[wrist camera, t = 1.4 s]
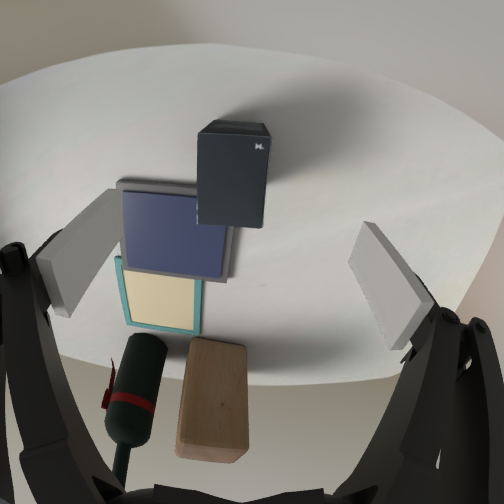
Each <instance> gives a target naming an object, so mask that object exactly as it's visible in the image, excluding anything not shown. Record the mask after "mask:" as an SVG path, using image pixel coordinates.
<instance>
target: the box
mask: <svg viewBox="0 0 504 504" xmlns="http://www.w3.org/2000/svg"><path fill="white" fill-rule="evenodd" d="M271 143H272V137H271V136H270V134H269V132H268V130H267V128H266V127H265V125H264V124H263V123H253V122H239V121H222V120H214V121H212V122H211V123H210V124H209V125H208V126H206V127H205V128H204V129H203V130H201V131H200V132H199V133H198V140H197V224H199V225H215V226H231V227H247V228H258V229H260V228H263V218H264V205H265V194H266V184H267V175H268V166H269V158H270V150H271Z"/></svg>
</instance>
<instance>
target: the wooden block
mask: <svg viewBox="0 0 504 504" xmlns="http://www.w3.org/2000/svg"><path fill="white" fill-rule="evenodd" d="M248 422H249V421H248V382H247V350H246V348H245V347H244V346H241V345H235V344H229V343H223V342H218V341H212V340H207V339H202V338H193V339H192V340H191V342H190V346H189V351H188V357H187V362H186V368H185V374H184V381H183V388H182V396H181V403H180V411H179V419H178V427H177V436H176V445H175V453H176V455H177V456H178V457H180V458H186V459H192V460H200V461H208V462H218V463H234V462H235V461H236V460H238V459H239V458H240V457H241V456H242V455H243V454H245V453H246V452H247V451H248V449H249V423H248Z"/></svg>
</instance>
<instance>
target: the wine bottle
mask: <svg viewBox="0 0 504 504" xmlns="http://www.w3.org/2000/svg"><path fill="white" fill-rule="evenodd" d="M167 350H168V348H167V347H166V345H165V343H164V342H163V341H161V340H160V339H159V338H157V337H156V336H153V335H150V334H146V333H134V334H133V335H132V336H130V337H129V339H128V342H127V345H126V348H125V351H124V354H123V357H122V361H121V364H120V367H119V370H118V374H117V377H116V380H115V384H114V379H115V373H116V372H115V368H114V363H113V361H112V366H113V367H112V373H111V378H110V384H109V389H106V391H105V394H104V397H103V401H102V406H101V408H103V409H106V417H105V421H104V422H105V427H106V430H107V432H108V435H109V436H110V437H111V438H112V440H113V441H114V442H116V443H117V448H116V453H115V458H114V464H113V470H112V472H113V474H114V475H115V476H116V478H117V479H118V481H119V482H120V484H121V485H122V487H123V488H124V490H125V483H126V476H127V469H128V463H129V457H130V451H131V448H135V447H139V446H142V445H144V444H145V443H146V442H147V441H148V440H149V438H150V434H151V429H152V423H153V417H154V412H155V407H156V402H157V396H158V391H159V386H160V382H161V377H162V372H163V368H164V363H165V359H166V354H167ZM111 360H112V358H111ZM113 386H114V387H113Z"/></svg>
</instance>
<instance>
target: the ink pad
mask: <svg viewBox="0 0 504 504" xmlns="http://www.w3.org/2000/svg"><path fill="white" fill-rule="evenodd" d="M116 189H121V209H122V224H123V236H122V238H121V239H120V248H121V256H122V264H123V270H127V271H134V272H141V273H148V274H155V275H163V276H170V277H178V278H186V279H194V280H203V281H211V282H220V283H227V276H228V268H229V261H230V253H231V246H232V238H233V231H234V227H231V226H215V225H199V224H197V186H192V185H182V184H171V183H158V182H145V181H129V180H118V181H117V182H116Z"/></svg>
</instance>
